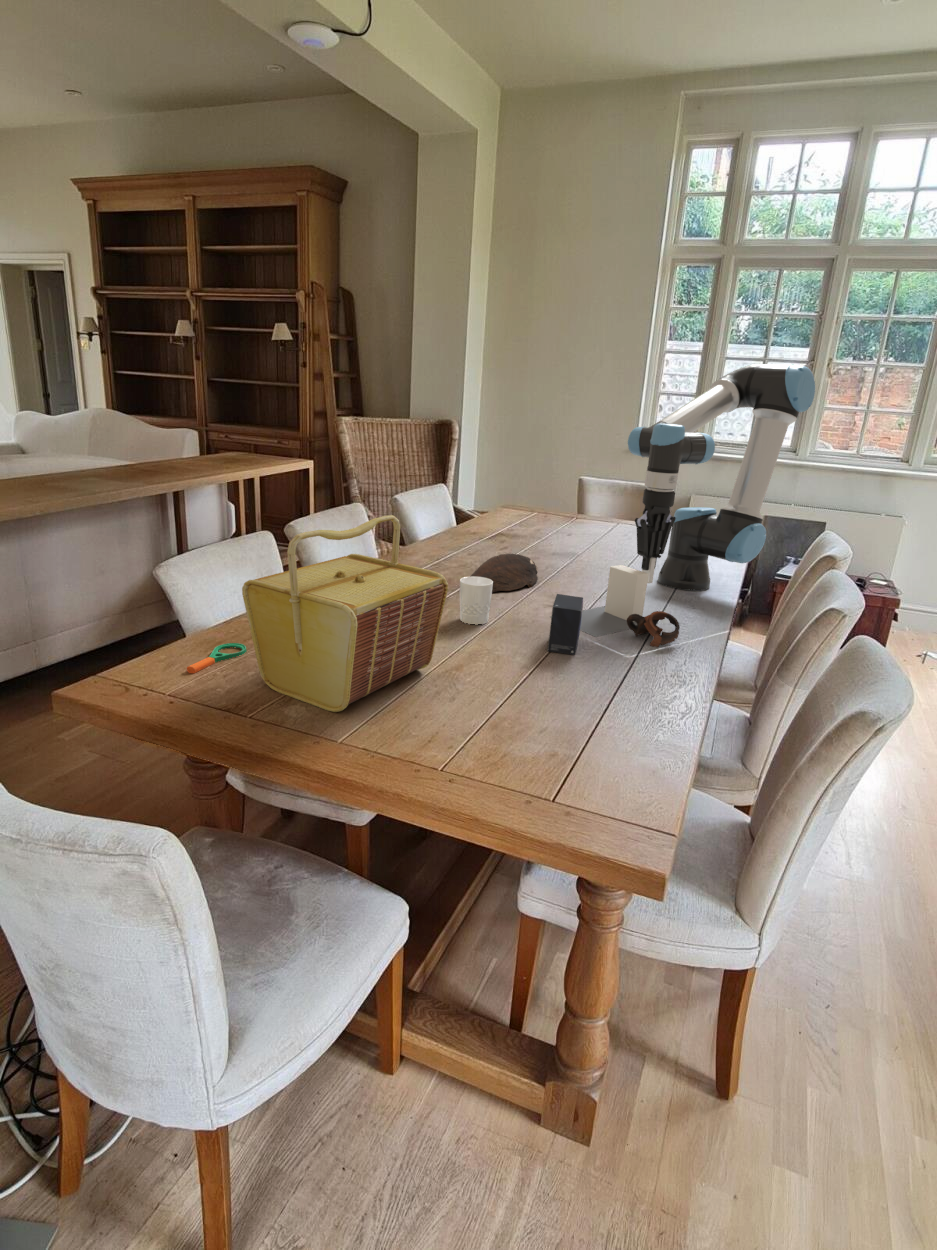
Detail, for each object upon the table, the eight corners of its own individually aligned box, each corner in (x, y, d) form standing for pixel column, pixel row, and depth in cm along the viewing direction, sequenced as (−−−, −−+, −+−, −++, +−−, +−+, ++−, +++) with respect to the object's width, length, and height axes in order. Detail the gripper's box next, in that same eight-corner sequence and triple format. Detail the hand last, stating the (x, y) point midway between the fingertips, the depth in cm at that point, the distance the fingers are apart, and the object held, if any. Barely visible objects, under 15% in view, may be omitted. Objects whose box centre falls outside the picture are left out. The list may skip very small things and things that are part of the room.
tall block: (615, 609, 185) (621, 564, 181) (641, 619, 178) (648, 573, 174) (604, 611, 183) (610, 566, 179) (631, 622, 176) (637, 575, 172)
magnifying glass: (228, 646, 148) (227, 638, 147) (252, 651, 146) (252, 643, 146) (177, 672, 134) (177, 663, 134) (204, 678, 133) (203, 669, 132)
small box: (576, 656, 153) (582, 610, 150) (546, 652, 154) (551, 606, 151) (579, 639, 163) (584, 596, 159) (551, 636, 164) (555, 592, 161)
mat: (610, 606, 189) (610, 604, 189) (657, 624, 177) (658, 622, 177) (548, 618, 176) (549, 616, 176) (595, 638, 164) (595, 636, 164)
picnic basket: (349, 727, 117) (349, 549, 107) (240, 686, 129) (232, 523, 119) (447, 673, 140) (455, 523, 130) (348, 642, 153) (348, 503, 143)
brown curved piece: (670, 637, 170) (685, 615, 163) (666, 666, 163) (680, 643, 157) (623, 619, 170) (635, 596, 164) (616, 647, 164) (629, 624, 158)
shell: (522, 606, 191) (520, 578, 188) (452, 605, 198) (449, 577, 195) (550, 567, 220) (548, 542, 217) (488, 567, 227) (486, 542, 224)
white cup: (495, 619, 173) (498, 579, 170) (482, 628, 166) (485, 587, 163) (466, 613, 176) (468, 574, 173) (452, 622, 169) (454, 581, 166)
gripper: (654, 492, 167) (640, 588, 175) (689, 490, 175) (674, 582, 183) (630, 487, 173) (617, 581, 181) (665, 485, 181) (651, 575, 188)
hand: (646, 581), depth 182 cm, fingers closed
